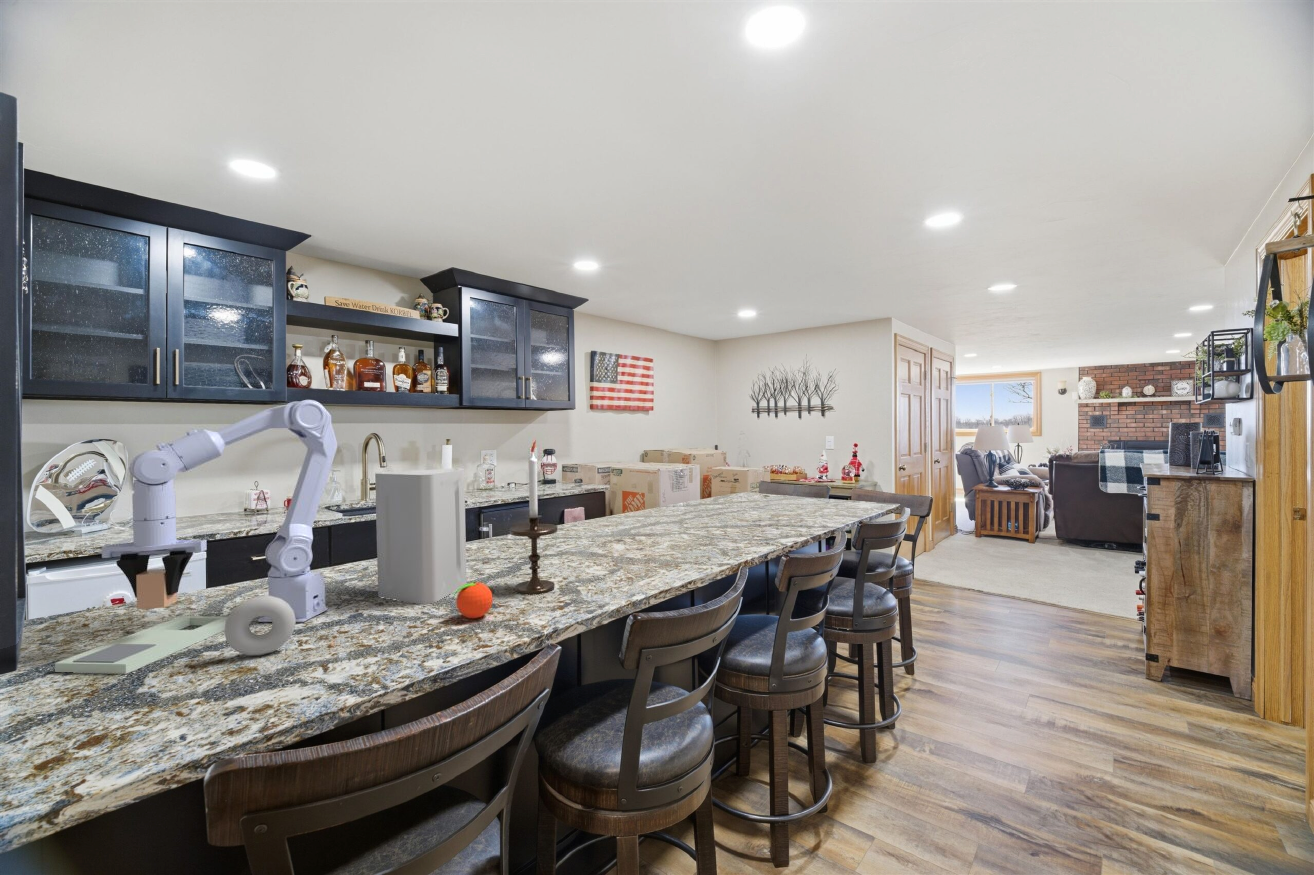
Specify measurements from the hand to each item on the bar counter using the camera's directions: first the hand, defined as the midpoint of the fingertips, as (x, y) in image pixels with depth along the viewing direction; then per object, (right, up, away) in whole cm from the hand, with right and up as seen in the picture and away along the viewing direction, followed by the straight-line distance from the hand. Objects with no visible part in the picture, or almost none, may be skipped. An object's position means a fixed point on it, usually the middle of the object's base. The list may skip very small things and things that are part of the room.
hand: (157, 594), depth 101 cm
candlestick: (+60, -8, +32) cm, 69 cm away
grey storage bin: (+36, -8, +28) cm, 47 cm away
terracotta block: (0, -2, 0) cm, 2 cm away
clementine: (+52, -8, +12) cm, 54 cm away
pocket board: (0, -9, 0) cm, 9 cm away
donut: (+22, -9, -5) cm, 24 cm away
